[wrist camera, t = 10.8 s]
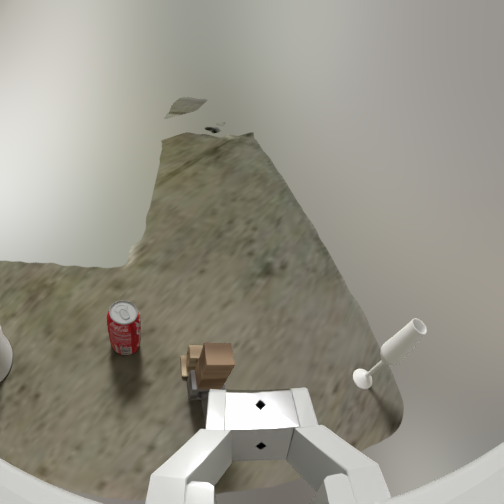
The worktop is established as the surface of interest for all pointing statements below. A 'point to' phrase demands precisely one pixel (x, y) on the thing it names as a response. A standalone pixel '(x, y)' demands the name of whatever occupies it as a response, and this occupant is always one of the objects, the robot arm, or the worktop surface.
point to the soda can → (124, 327)
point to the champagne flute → (393, 350)
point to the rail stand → (190, 364)
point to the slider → (210, 369)
